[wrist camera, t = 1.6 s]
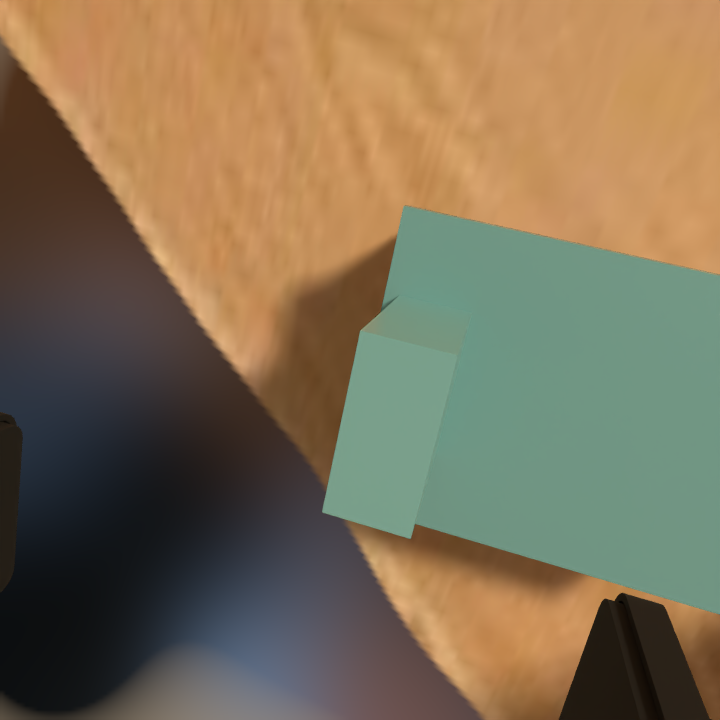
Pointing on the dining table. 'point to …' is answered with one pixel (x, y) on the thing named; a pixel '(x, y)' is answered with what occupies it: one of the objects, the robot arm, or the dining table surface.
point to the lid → (540, 406)
